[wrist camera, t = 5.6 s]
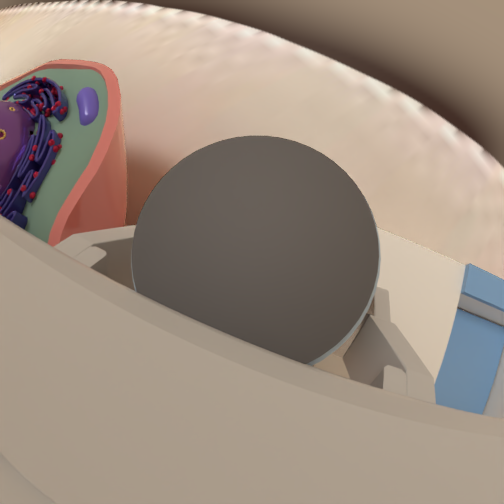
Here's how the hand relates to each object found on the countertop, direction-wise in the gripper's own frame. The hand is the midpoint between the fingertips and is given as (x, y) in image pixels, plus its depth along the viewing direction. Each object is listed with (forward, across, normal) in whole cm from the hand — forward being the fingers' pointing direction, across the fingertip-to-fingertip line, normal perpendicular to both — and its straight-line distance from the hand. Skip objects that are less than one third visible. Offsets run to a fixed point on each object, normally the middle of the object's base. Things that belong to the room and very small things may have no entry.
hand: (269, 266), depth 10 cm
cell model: (+2, +14, +7) cm, 16 cm away
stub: (+4, 0, +5) cm, 6 cm away
